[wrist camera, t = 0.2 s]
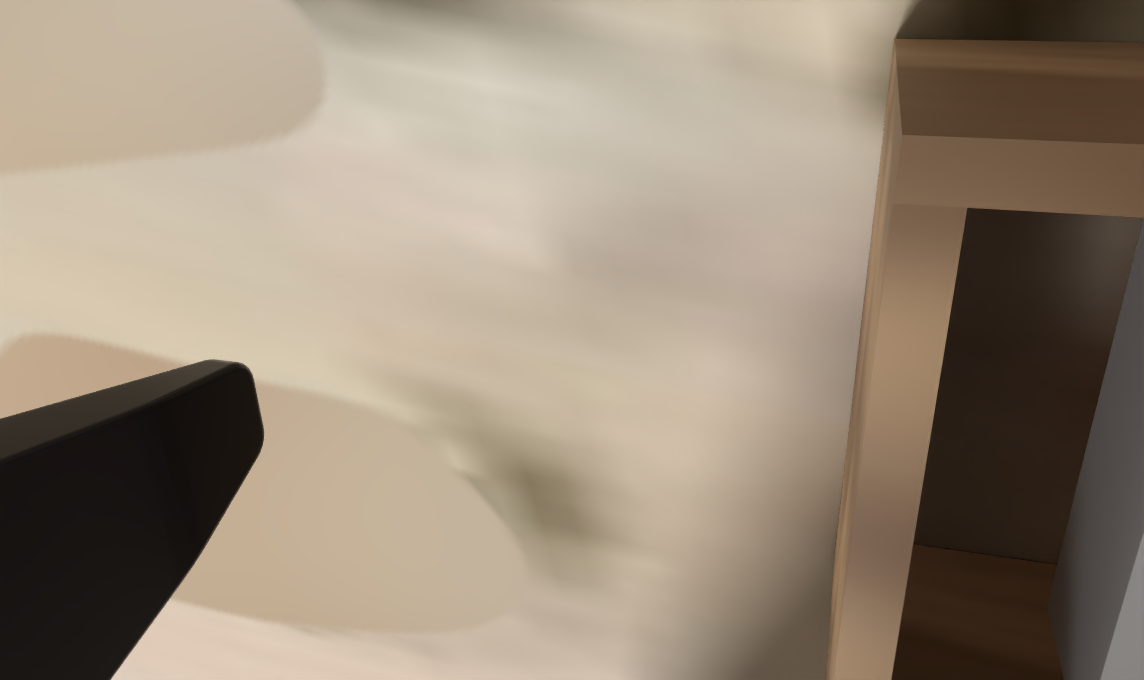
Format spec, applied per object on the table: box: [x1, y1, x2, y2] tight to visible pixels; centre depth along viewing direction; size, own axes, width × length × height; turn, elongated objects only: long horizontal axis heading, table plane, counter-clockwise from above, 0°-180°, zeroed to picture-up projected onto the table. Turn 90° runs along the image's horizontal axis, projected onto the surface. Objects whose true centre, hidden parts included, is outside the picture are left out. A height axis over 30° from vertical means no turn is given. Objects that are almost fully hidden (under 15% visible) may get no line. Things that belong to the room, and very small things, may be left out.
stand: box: [826, 39, 1144, 680], centre depth 19 cm, size 14×10×8 cm
